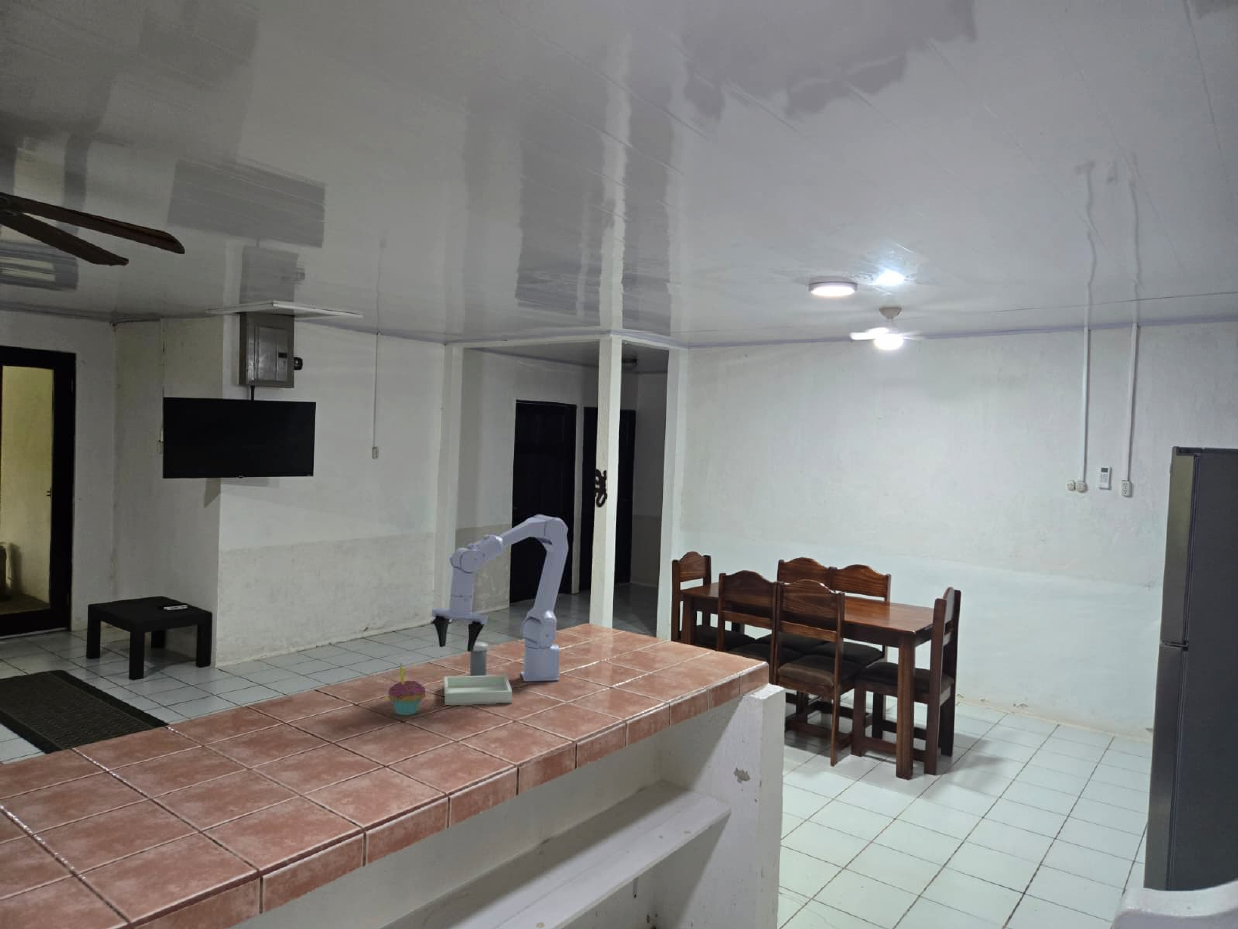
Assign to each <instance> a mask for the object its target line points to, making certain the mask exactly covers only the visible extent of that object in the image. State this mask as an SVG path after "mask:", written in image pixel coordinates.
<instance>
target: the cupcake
mask: <svg viewBox="0 0 1238 929" xmlns="http://www.w3.org/2000/svg"><path fill="white" fill-rule="evenodd" d="M399 665H400V666H399V672H400V673H399V674H400V680H401V681H399V682H396V683H394V684H393V686H391V687H390V688H389V690H388V692H387V696H388V697H387V698H388V699H389V700H390V701H391V702H392V704H393V706H394V710H395V714H397V715H399V716H412V715H414V713H415V714H416V713H417V712H418V708H419V705H420V703H421V701H422V700H423V699H424V698H426V696H427V695H426V688H425V687H424V686H423V685H422V684H421V683H419V682H418V681H415V680H406V681H405V675H404V666H403V665H402V663H399ZM411 714H412V715H411Z"/></svg>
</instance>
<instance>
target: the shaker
mask: <svg viewBox="0 0 1238 929" xmlns="http://www.w3.org/2000/svg"><path fill="white" fill-rule="evenodd" d="M488 646H489V645H488V642H483V641H482V642H480V641H477V642H475V645H474V648H473V651H470V652H469V653H470V654H469V656H470V657H469V676H486V675H487V671H488V670H487V667H488V663H487V662H488Z"/></svg>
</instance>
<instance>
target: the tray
mask: <svg viewBox="0 0 1238 929" xmlns="http://www.w3.org/2000/svg"><path fill="white" fill-rule="evenodd" d="M443 692H444V693H443V695H444V696H445V697H444V706H445V705H460V706H474V705H473V704H486V705H492V704H491V703H495V704H494V705H497V704H496V703H512V702H513V700H512V699H513V690H512V686H511V684H510V681H509V678H508V675H507V674H491V675H490V674H489V675H487V674H486V676H470V675H464V676H463V675H461V676H460V675H459V676H458V675H457V676H444V678H443ZM488 703H489V704H488ZM512 704H513V703H512Z"/></svg>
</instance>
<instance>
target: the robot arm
mask: <svg viewBox="0 0 1238 929" xmlns="http://www.w3.org/2000/svg"><path fill="white" fill-rule="evenodd" d="M568 530H569V528H568V526H567V525H566V523H565V522H564V520H562V519H561V518H560V517H552V516H547V515H544V514H536V515H534V516H533V517H529V518H527V519H525V521H523V522H521V523H520V524H518V525H516V526H514V527H513V528H511V529H509V530H507V531H505V532H504V533H502V534H500V535H498V536H497V535H494V534H485V535H483V538H482V539H480V540H478V541H475V542H474V543H472V542H471V543H468V544H467V547H459V548H457V549H456V550H454V552H453V553H452V556H451V557H449V562H450V563H449V564H450V565H451V566H452V577H451V579H452V580H451V586H450V596H449V604H448V605H449V606H448V609H444V608H437V607H436V608H432V609H431V617H432V618H434V619H432V620H433V622H432V623H433V624H434V627H435V630H436V633H437V637H438V638H437V639H438V643H439V648H444V647H446V644H447V643H446V642H447V633H448V628H449V624H450V620H454V621H455V620H456V621H461V622H469V624H468V626H467V627H468V640H467V641H468V642H467V648H466V650H467V652H469V653H470V651H473V648H474V645H475V642H476V641H477V640H478V637H479V636H480V634H481V631H483V628H484V627H485V625H487V624H488V620H489V616H488V615H485V614H480V613H475V612H472V608H473V603H474V602H473V600H474V593H475V583H476V582H475V581H476V575H477V574H476V573H477V571H479V570H480V568H481V565H483V564H485V563H487V562H488V561H491V560H493V559H495V558H496V557H499V556H501V555H502V554H503V553H504V549H505V548H507V547H509V546H511V545H513V544H516V543H518V542H520V541H523V540H525V539H528V538H530V537H531V538H535V539H536V540H538V541H539V542H540V543H541V544H542V545H543V546H544V549H545V550H546V556H545V560H544V564H543V567H542V572H541V576H540V580H539V585H538V589H537V592H536V596H535V601H534V604H533V606H532V608H531V609H530V610H528V611H527V613H526V617H525V619H524V620H523V622H522V623H521V626H520V630H519V631H520V635H521V636H522V638H523V639H524V654H523V655H524V656H523V657H524V658H523V659H524V660H523V661H524V662H523V671H520V675H521V677H522V680H523V682H539V681H540V682H543V681H544V682H545V681H547V682H548V681H559V680H560V678H559V676H560V675H559V674H560V673H559V672H560V648H559V645H558V644H554V643H555V641H556V638H557V635H558V634H557V633H558V632H557V624H558V619H557V618H556V616H555V613H554V611H555V605H556V601H557V596H558V593H559V589H560V586H561V581H562V577H563V573H564V569H565V565H566V561H567V556H568V552H569V543H568V538H567V537H568V536H567V534H568Z"/></svg>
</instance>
